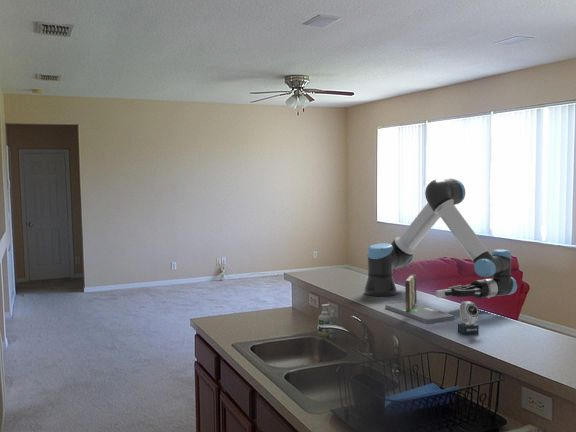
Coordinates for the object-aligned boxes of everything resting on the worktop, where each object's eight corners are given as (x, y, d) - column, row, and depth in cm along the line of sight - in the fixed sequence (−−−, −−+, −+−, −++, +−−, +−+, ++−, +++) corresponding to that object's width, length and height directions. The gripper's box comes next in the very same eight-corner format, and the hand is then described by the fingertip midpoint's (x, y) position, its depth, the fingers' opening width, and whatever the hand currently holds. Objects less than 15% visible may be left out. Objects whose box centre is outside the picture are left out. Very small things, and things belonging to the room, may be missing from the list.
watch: (467, 336, 185) (467, 304, 185) (454, 330, 193) (454, 300, 192) (482, 335, 187) (482, 303, 186) (469, 329, 194) (469, 299, 194)
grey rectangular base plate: (385, 308, 229) (385, 304, 229) (411, 304, 234) (411, 301, 234) (426, 323, 203) (426, 319, 203) (454, 319, 209) (454, 315, 208)
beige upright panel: (410, 302, 230) (410, 274, 230) (416, 302, 229) (416, 274, 229) (404, 310, 216) (403, 280, 215) (410, 310, 215) (410, 281, 214)
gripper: (494, 300, 222) (447, 306, 213) (472, 294, 234) (427, 300, 225) (494, 282, 221) (447, 287, 213) (472, 277, 234) (427, 282, 225)
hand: (437, 294), depth 219 cm, fingers closed
